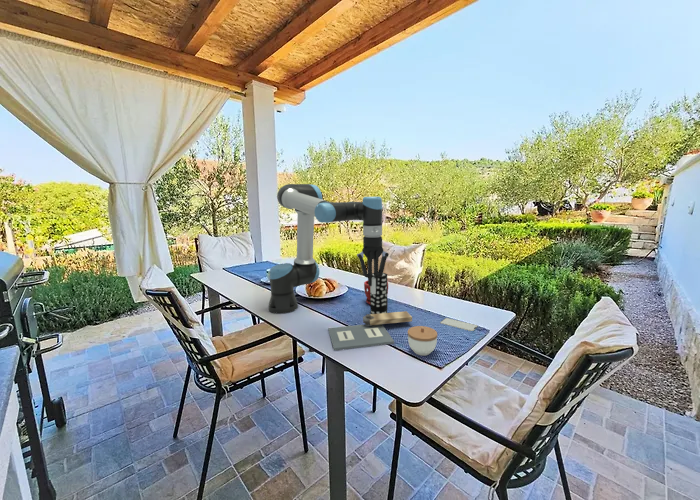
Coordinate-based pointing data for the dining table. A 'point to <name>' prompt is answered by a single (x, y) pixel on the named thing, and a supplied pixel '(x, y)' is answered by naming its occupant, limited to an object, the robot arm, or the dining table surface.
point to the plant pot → (369, 291)
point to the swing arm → (387, 318)
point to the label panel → (359, 336)
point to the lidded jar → (422, 339)
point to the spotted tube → (379, 296)
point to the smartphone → (459, 324)
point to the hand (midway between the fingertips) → (373, 293)
